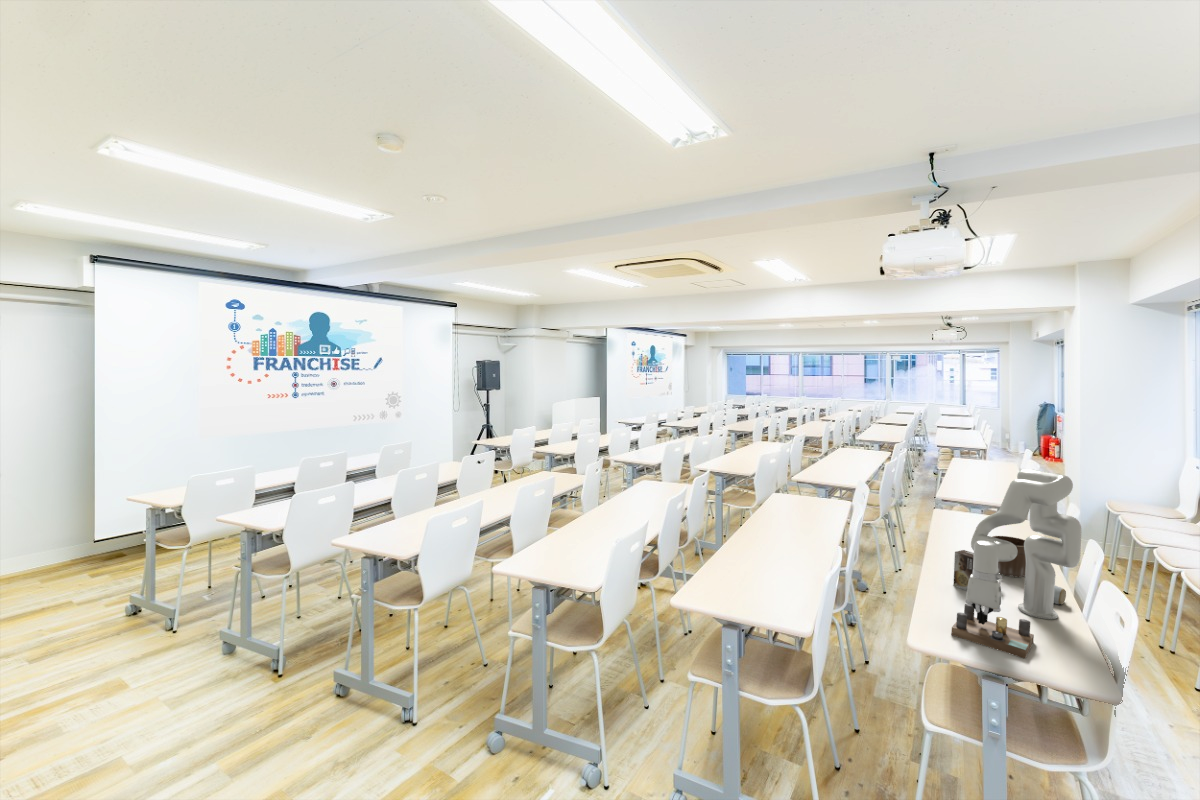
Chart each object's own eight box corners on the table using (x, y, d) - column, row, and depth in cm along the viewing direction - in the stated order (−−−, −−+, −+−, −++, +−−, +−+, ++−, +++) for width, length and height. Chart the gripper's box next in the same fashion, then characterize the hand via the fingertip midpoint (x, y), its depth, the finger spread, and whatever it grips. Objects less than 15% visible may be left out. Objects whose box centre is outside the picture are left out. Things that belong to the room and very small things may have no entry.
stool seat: (962, 621, 213) (963, 601, 213) (1033, 642, 197) (1034, 621, 197) (951, 635, 202) (952, 614, 202) (1025, 658, 186) (1026, 636, 186)
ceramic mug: (1060, 607, 227) (1061, 589, 226) (1036, 600, 233) (1037, 582, 233) (1068, 601, 233) (1070, 584, 232) (1045, 595, 239) (1046, 578, 239)
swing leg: (1001, 640, 192) (1002, 627, 191) (990, 637, 194) (991, 624, 194) (1007, 632, 198) (1008, 619, 198) (996, 629, 200) (997, 615, 200)
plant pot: (981, 569, 268) (983, 537, 267) (1000, 564, 275) (1002, 533, 274) (1017, 581, 253) (1020, 548, 252) (1037, 576, 260) (1039, 543, 259)
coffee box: (982, 591, 242) (984, 556, 241) (972, 593, 240) (974, 557, 239) (962, 583, 251) (963, 549, 250) (952, 585, 248) (954, 551, 247)
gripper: (1011, 578, 198) (1008, 626, 199) (963, 566, 209) (961, 612, 210) (1007, 583, 193) (1004, 633, 194) (958, 571, 204) (955, 619, 205)
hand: (981, 622), depth 202 cm, fingers closed
